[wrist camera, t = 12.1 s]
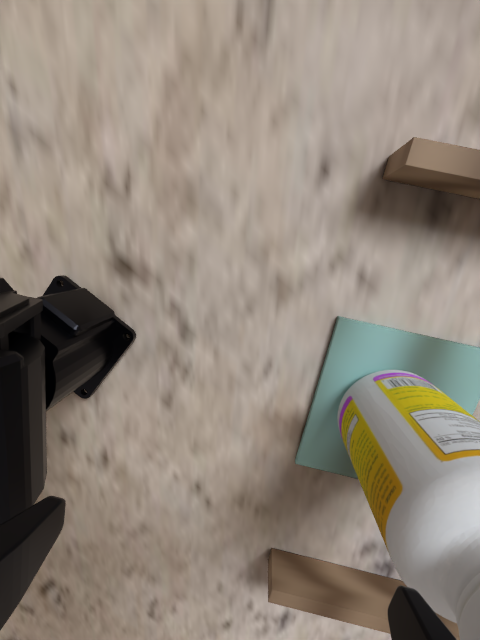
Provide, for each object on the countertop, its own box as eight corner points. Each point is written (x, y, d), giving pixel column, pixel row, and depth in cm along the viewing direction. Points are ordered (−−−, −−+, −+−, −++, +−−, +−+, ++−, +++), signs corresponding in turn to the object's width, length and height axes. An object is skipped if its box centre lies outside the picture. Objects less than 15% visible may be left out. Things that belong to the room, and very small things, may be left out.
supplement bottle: (371, 472, 21) (522, 794, 9) (315, 403, 20) (390, 647, 8) (460, 422, 20) (794, 720, 7) (403, 345, 19) (667, 531, 6)
